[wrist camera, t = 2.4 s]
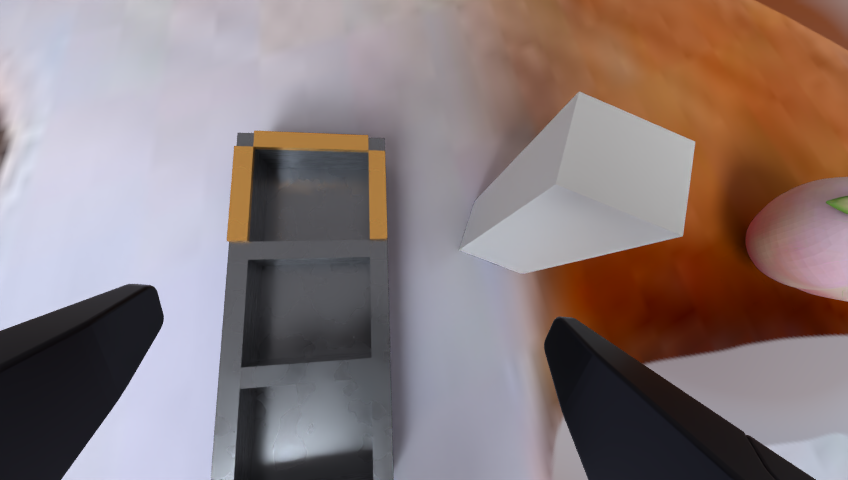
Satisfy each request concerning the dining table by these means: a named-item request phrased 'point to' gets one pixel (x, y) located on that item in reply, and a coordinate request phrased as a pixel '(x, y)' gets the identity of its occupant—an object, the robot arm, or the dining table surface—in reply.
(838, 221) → the decorative fruit
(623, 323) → the dining table surface
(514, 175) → the light grey block
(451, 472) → the dining table surface
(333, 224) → the rack
